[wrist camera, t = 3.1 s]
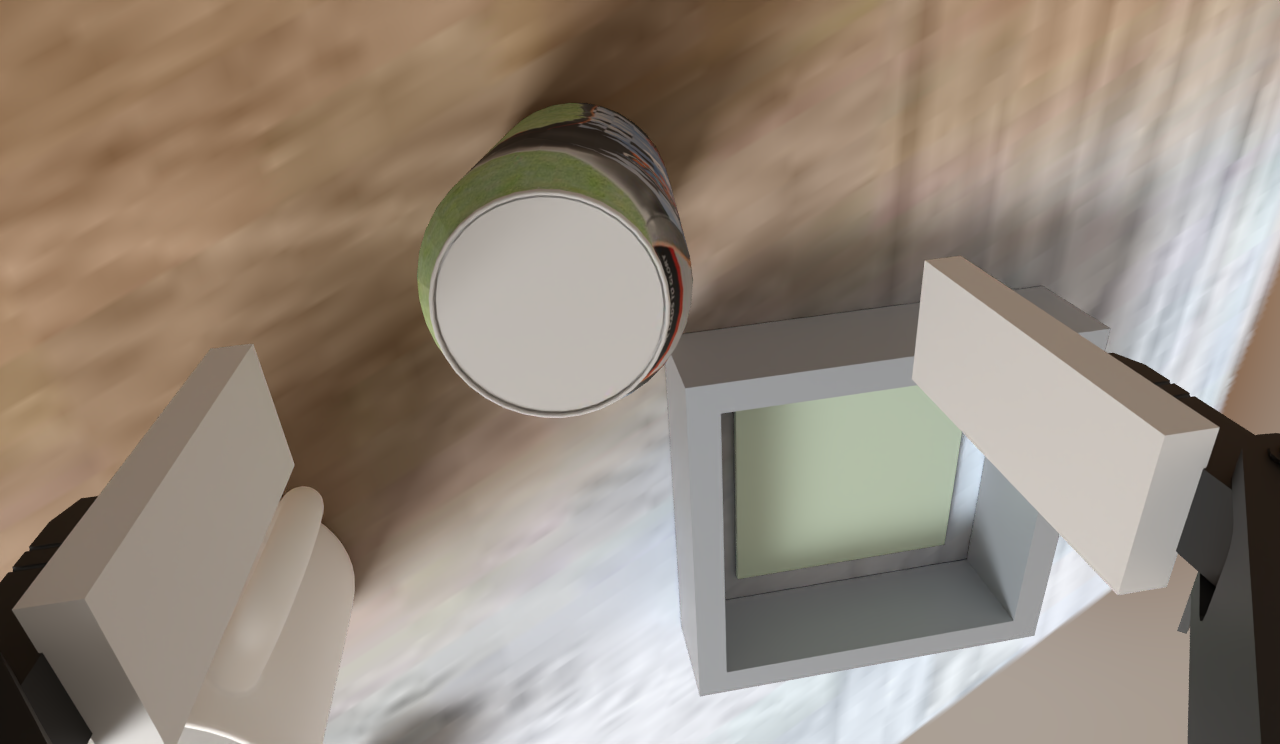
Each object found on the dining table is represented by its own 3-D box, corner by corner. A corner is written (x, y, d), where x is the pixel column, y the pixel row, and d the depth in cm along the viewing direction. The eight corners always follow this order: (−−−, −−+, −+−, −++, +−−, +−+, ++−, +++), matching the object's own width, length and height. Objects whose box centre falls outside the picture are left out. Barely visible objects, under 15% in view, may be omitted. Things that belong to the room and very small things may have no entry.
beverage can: (632, 290, 29) (707, 488, 18) (427, 242, 27) (380, 433, 16) (688, 119, 26) (813, 236, 16) (466, 51, 24) (439, 133, 14)
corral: (663, 336, 30) (685, 388, 26) (1042, 285, 31) (1110, 328, 28) (681, 626, 37) (699, 696, 34) (986, 573, 39) (1034, 635, 35)
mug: (227, 379, 28) (98, 585, 19) (438, 471, 31) (413, 684, 22) (107, 605, 32) (-48, 866, 23) (307, 666, 35) (240, 916, 26)
